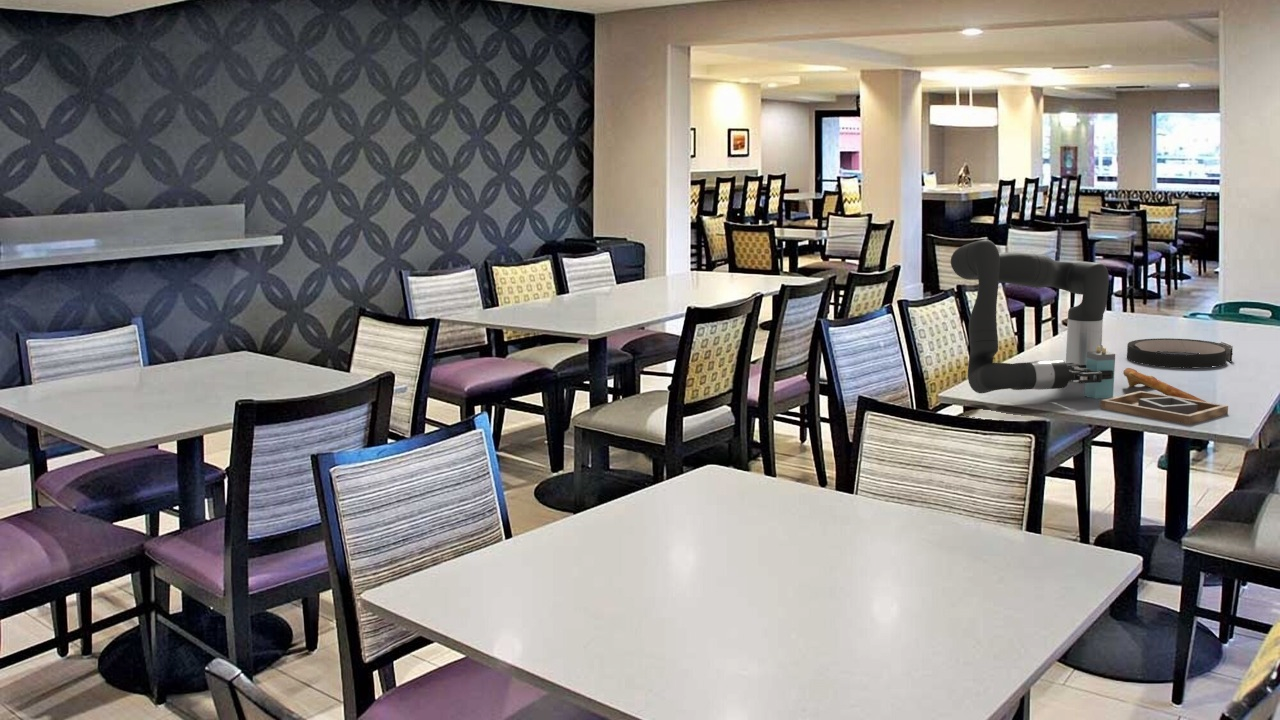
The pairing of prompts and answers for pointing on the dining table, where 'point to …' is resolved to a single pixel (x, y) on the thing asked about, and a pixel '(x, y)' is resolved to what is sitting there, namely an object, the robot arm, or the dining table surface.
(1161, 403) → the socket
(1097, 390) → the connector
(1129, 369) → the bone
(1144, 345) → the belt
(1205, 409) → the walled box
